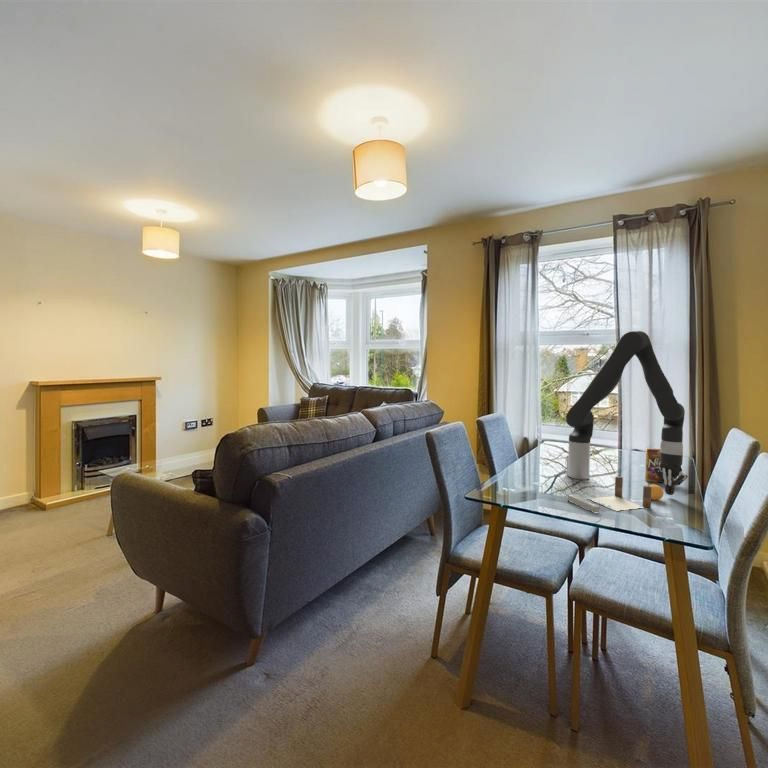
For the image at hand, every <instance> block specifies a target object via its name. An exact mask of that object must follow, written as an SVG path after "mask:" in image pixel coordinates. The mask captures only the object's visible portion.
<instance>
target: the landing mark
mask: <svg viewBox="0 0 768 768" xmlns="http://www.w3.org/2000/svg"><path fill="white" fill-rule="evenodd" d="M589 499H591V500H592V501H594V502H595V501H597V502H602V503H603V504H605V506H608V505H610V506H611V508H612V509H614V510H616V511H615V512H621V511H620V510H624V511H630V510H629V509H634V510H639V509H638V508H643V509H645V508H644V507H639V506H641V505H639V504H637V503H634V502H632V501H629V500H628V499H624V498H623V497H622V498H619V497H616V496H615V495H614V496H613V495H612V496H603V497H602V496H599V497H593V498H589ZM592 501H591V502H592ZM594 502H593V503H594Z"/></svg>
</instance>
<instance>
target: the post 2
mask: <svg viewBox="0 0 768 768" xmlns="http://www.w3.org/2000/svg"><path fill="white" fill-rule="evenodd" d="M651 489H652V487H651V486H649V485H643V487H642V506H643V507H644V508H643V509H646V508H651V509H652V499H651Z"/></svg>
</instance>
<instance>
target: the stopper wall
mask: <svg viewBox="0 0 768 768" xmlns="http://www.w3.org/2000/svg"><path fill="white" fill-rule="evenodd" d="M568 500H570V501H572V502H574V503H576V504H578V505H580V506H582V507H584V508H586V509H589V510H591V511H593V512H599V513H600V505H598V504H596V503H594V502H592V501H589V500H587V499H584V498H581V497H579V496H577V495H574V494H567V501H568ZM586 509H585V510H586Z"/></svg>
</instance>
